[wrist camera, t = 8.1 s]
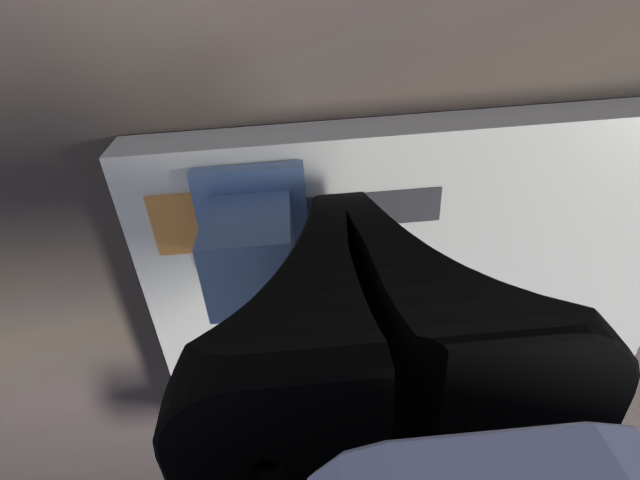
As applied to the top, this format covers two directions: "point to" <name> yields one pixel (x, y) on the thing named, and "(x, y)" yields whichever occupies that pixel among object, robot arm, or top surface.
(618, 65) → the top surface
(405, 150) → the switch board
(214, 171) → the switch tab
